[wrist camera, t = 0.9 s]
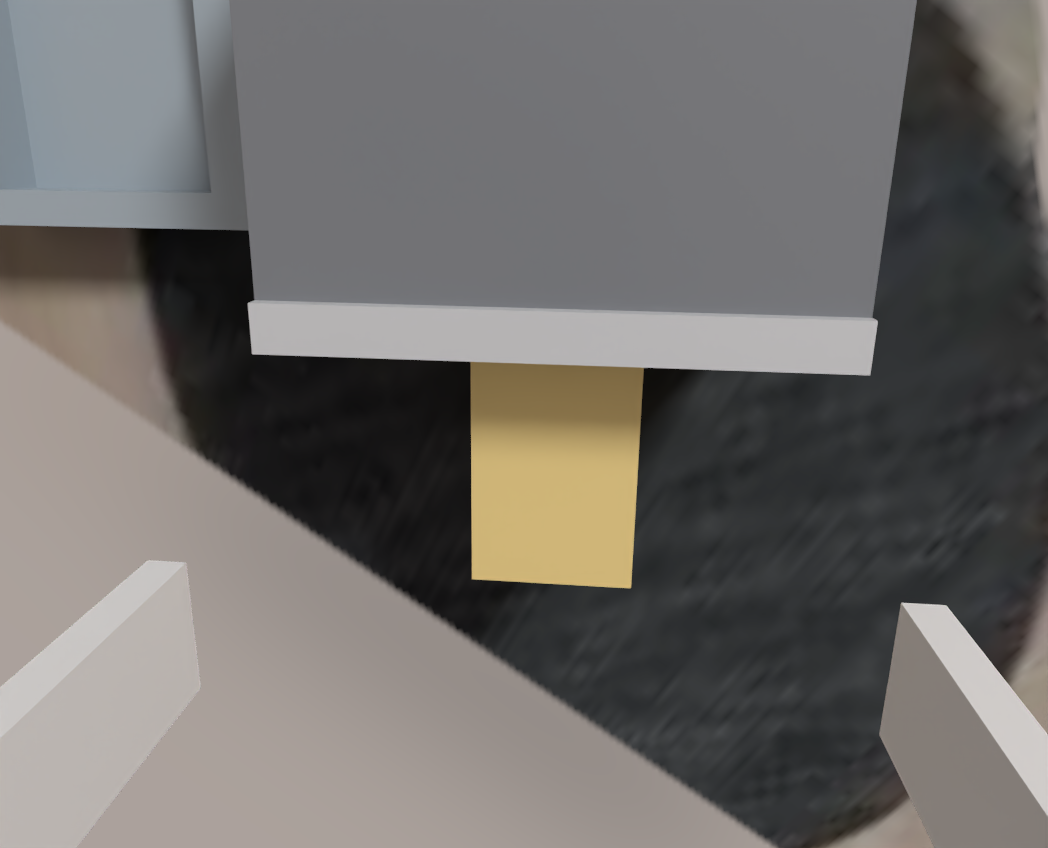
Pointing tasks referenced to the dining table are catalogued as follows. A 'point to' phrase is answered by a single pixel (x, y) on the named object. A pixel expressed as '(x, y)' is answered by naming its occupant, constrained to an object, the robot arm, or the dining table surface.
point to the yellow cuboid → (554, 472)
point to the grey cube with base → (570, 179)
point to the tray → (119, 115)
